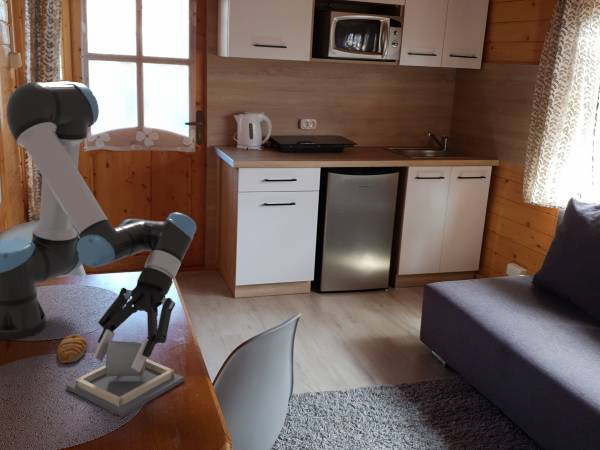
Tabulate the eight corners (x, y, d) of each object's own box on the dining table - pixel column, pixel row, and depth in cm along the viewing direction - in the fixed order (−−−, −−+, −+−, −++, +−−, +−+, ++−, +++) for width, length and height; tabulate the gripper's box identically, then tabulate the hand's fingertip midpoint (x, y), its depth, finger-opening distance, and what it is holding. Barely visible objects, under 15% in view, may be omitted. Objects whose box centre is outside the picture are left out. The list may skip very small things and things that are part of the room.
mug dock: (66, 388, 132) (65, 378, 132) (129, 357, 147) (129, 348, 146) (122, 416, 123) (121, 406, 122) (183, 380, 138) (183, 371, 137)
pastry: (83, 364, 143) (82, 349, 142) (53, 366, 142) (52, 351, 141) (88, 346, 152) (87, 332, 151) (60, 348, 151) (59, 334, 150)
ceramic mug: (144, 381, 132) (143, 349, 130) (105, 382, 130) (104, 350, 129) (148, 359, 142) (148, 328, 140) (112, 359, 141) (111, 329, 139)
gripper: (205, 289, 139) (166, 381, 130) (127, 273, 148) (85, 358, 138) (192, 274, 133) (150, 370, 123) (112, 258, 141) (66, 347, 132)
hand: (116, 364), depth 131 cm, fingers closed on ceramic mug, 9 cm apart
